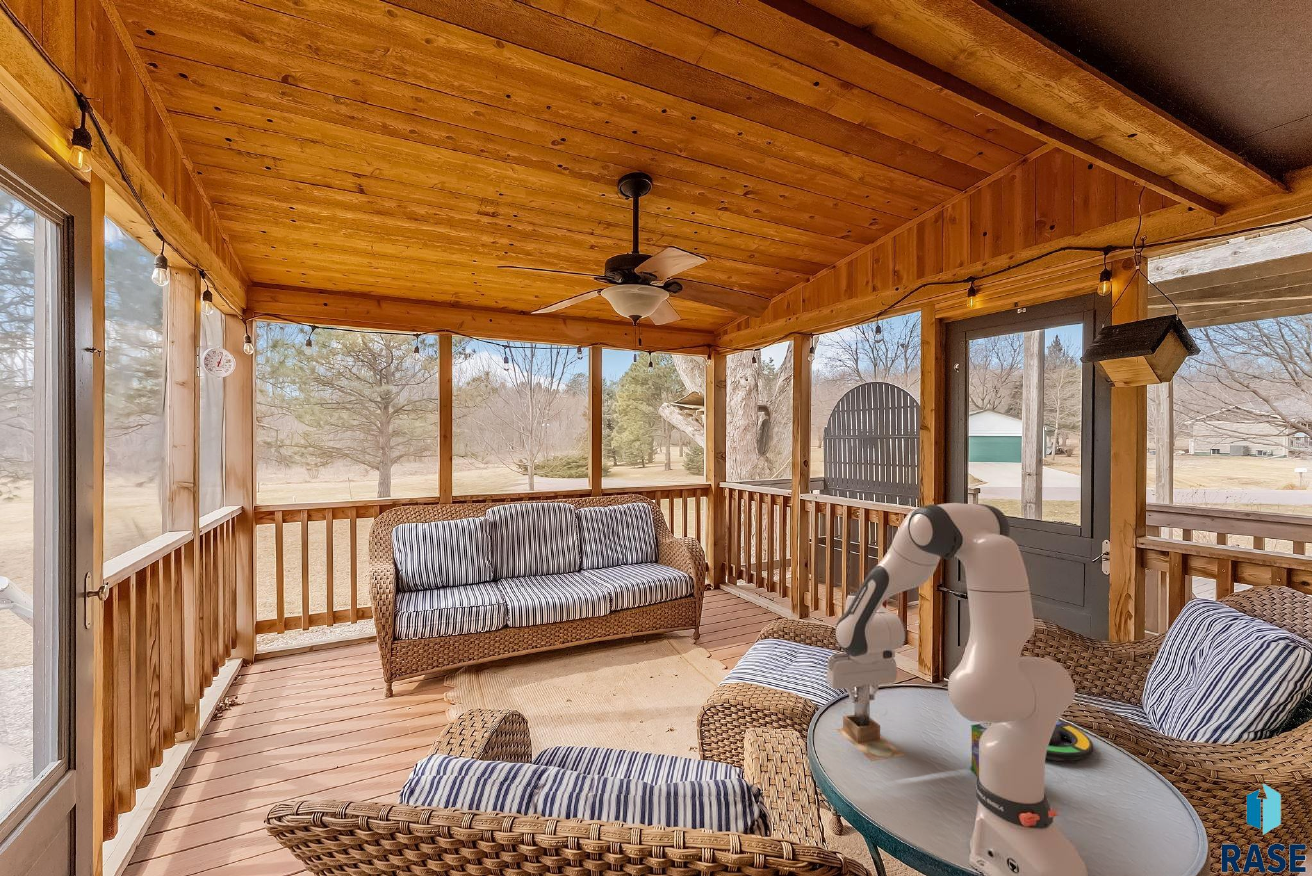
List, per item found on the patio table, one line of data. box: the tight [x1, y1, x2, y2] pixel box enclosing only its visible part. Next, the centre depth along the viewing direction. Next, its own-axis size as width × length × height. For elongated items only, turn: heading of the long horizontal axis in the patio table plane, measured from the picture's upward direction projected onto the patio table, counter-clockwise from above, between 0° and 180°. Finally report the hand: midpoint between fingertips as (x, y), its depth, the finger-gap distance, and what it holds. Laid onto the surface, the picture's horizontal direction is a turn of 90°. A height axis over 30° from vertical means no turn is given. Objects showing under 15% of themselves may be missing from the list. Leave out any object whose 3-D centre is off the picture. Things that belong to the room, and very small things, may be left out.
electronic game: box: [1045, 719, 1094, 762], centre depth 155 cm, size 23×23×5 cm
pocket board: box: [836, 714, 905, 762], centre depth 153 cm, size 16×10×5 cm, turn 14°
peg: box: [853, 684, 871, 727], centre depth 157 cm, size 4×4×12 cm
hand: (862, 700), depth 157 cm, fingers closed on peg, 4 cm apart
